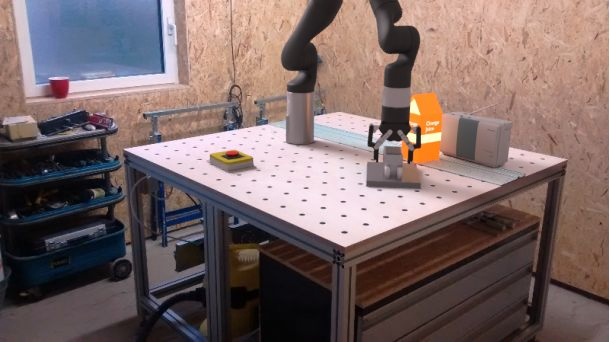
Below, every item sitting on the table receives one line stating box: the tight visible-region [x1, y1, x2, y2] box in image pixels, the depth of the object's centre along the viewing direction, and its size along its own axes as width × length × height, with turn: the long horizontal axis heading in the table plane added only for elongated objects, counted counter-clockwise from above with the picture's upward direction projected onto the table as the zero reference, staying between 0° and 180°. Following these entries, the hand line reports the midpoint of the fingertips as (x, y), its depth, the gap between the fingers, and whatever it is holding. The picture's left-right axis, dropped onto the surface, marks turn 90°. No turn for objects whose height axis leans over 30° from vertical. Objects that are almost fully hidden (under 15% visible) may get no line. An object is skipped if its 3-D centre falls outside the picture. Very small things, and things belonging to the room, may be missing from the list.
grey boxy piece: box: [382, 145, 404, 177], centre depth 151 cm, size 5×9×6 cm, turn 173°
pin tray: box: [365, 161, 422, 189], centre depth 152 cm, size 14×18×4 cm
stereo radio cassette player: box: [440, 97, 514, 169], centre depth 167 cm, size 21×8×20 cm, turn 37°
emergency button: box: [206, 149, 257, 174], centre depth 163 cm, size 9×4×15 cm
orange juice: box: [401, 92, 444, 164], centre depth 168 cm, size 8×9×20 cm
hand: (393, 162), depth 152 cm, fingers open, 8 cm apart
